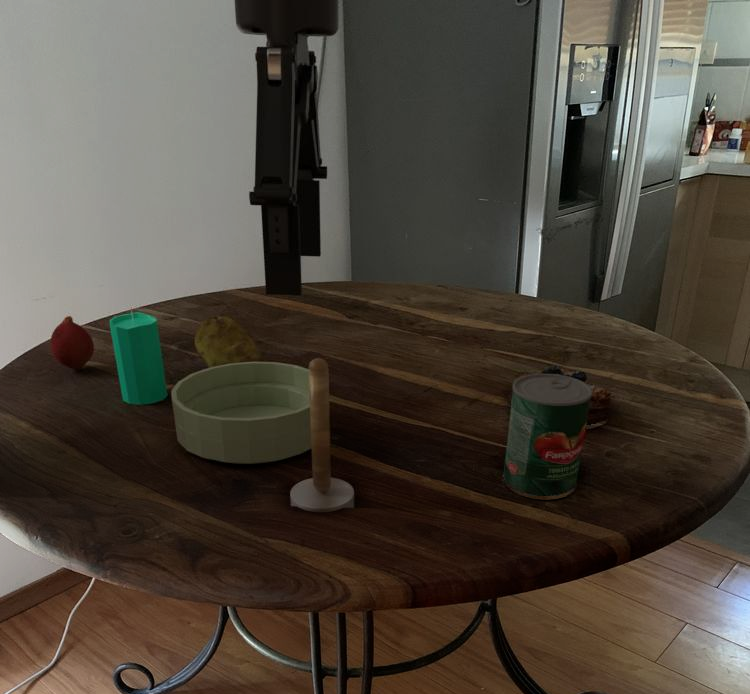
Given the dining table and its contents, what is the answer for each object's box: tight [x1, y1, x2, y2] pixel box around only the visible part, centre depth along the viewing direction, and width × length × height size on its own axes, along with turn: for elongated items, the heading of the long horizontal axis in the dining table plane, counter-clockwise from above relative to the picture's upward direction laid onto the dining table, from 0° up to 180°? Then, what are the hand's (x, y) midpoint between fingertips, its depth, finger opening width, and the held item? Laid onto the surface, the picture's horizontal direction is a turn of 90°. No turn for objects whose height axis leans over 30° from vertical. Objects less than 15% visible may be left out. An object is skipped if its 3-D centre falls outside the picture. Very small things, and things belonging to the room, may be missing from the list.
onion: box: [49, 315, 95, 371], centre depth 106 cm, size 6×6×8 cm
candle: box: [109, 307, 168, 406], centre depth 96 cm, size 6×6×12 cm
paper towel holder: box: [289, 357, 355, 513], centre depth 70 cm, size 6×6×16 cm
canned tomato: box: [502, 373, 592, 496], centre depth 77 cm, size 8×8×11 cm
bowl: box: [170, 361, 331, 465], centre depth 88 cm, size 18×18×6 cm
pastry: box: [507, 365, 612, 425], centre depth 94 cm, size 11×12×6 cm
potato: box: [194, 314, 265, 368], centre depth 104 cm, size 8×13×8 cm, turn 22°
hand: (296, 273), depth 63 cm, fingers open, 13 cm apart
